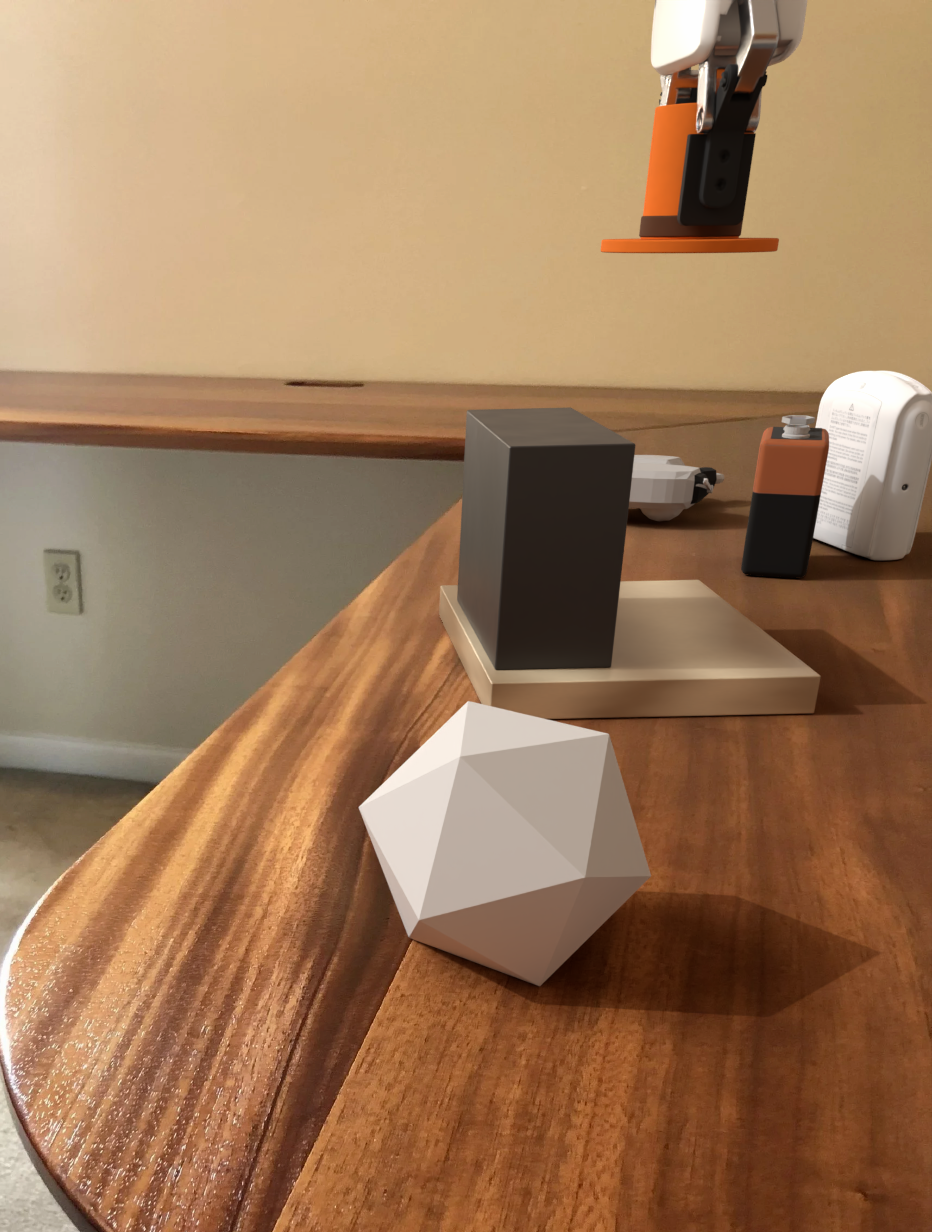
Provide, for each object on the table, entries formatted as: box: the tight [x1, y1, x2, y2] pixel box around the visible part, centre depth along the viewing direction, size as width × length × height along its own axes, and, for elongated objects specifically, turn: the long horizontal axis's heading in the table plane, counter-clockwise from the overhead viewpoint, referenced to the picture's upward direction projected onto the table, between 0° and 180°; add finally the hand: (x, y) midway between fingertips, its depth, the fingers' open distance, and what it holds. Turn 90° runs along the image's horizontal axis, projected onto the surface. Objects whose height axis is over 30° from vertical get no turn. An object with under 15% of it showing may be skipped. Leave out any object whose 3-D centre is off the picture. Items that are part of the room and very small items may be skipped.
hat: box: [600, 103, 780, 254], centre depth 67 cm, size 9×9×7 cm
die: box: [358, 700, 652, 987], centre depth 43 cm, size 8×9×10 cm
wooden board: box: [438, 579, 822, 720], centre depth 74 cm, size 16×20×2 cm
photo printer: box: [813, 370, 932, 562], centre depth 95 cm, size 10×4×12 cm, turn 11°
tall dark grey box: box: [457, 406, 636, 670], centre depth 70 cm, size 6×14×11 cm, turn 0°
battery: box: [740, 414, 829, 579], centre depth 91 cm, size 4×7×10 cm, turn 159°
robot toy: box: [629, 454, 725, 522], centre depth 111 cm, size 12×4×15 cm
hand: (691, 221), depth 68 cm, fingers closed on hat, 5 cm apart
